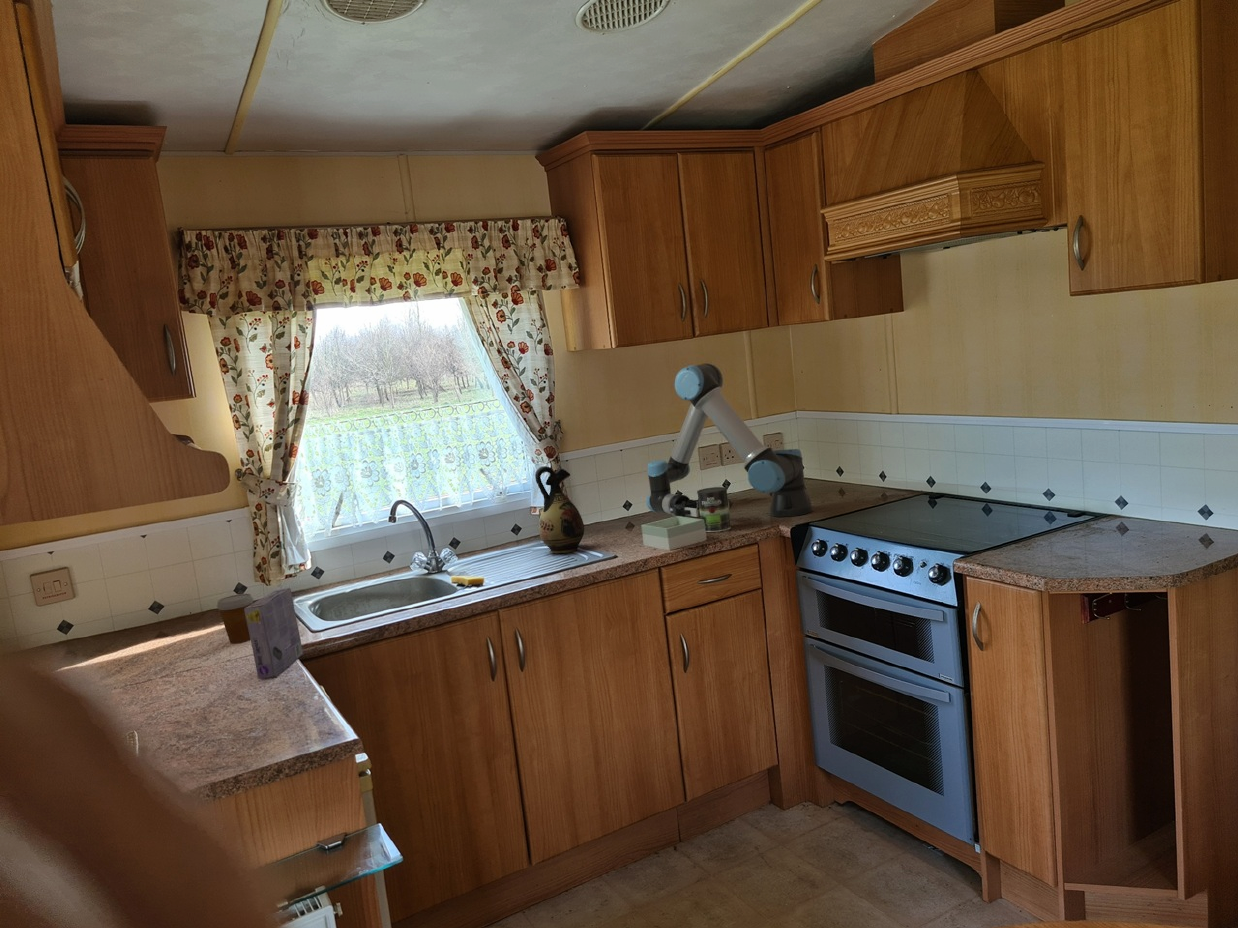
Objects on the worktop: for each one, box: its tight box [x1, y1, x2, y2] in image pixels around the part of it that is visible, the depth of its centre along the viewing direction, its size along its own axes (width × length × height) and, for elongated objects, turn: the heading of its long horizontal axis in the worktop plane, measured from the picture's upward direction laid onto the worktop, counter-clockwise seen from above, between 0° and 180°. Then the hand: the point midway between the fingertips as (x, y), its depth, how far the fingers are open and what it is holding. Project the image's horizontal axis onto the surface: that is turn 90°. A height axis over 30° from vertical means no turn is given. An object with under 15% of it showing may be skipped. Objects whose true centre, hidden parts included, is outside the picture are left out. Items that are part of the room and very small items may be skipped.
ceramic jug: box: [534, 465, 585, 554], centre depth 324 cm, size 17×15×30 cm
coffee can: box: [696, 486, 732, 533], centre depth 327 cm, size 10×10×14 cm
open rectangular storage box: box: [640, 516, 707, 551], centre depth 315 cm, size 15×15×7 cm
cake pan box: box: [244, 587, 304, 680], centre depth 231 cm, size 19×5×18 cm, turn 178°
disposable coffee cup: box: [216, 593, 254, 644], centre depth 262 cm, size 10×10×12 cm
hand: (712, 508), depth 327 cm, fingers open, 13 cm apart
